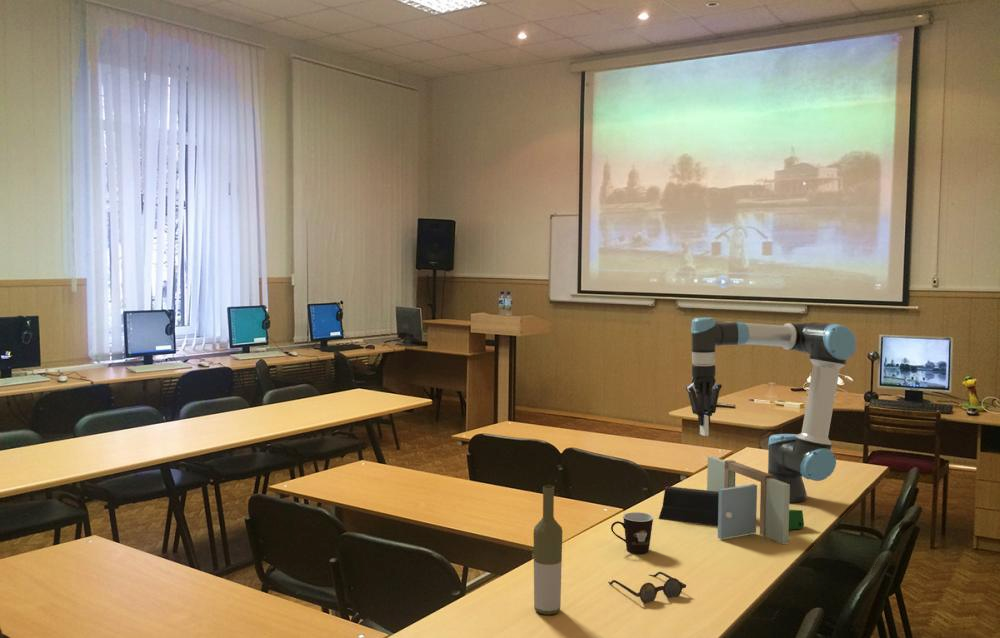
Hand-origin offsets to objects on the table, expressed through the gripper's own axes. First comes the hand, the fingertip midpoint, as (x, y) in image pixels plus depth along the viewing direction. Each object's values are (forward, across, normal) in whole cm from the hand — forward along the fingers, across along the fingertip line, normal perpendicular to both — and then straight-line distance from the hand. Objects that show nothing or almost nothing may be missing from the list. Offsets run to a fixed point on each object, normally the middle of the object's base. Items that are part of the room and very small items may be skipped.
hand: (704, 434), depth 252 cm
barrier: (+28, +5, +2) cm, 28 cm away
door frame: (+28, -7, +12) cm, 31 cm away
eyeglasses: (+27, +51, +44) cm, 72 cm away
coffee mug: (+27, +39, +19) cm, 51 cm away
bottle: (+25, +80, +47) cm, 96 cm away
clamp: (+29, -16, +18) cm, 38 cm away
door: (+27, +3, +21) cm, 34 cm away
